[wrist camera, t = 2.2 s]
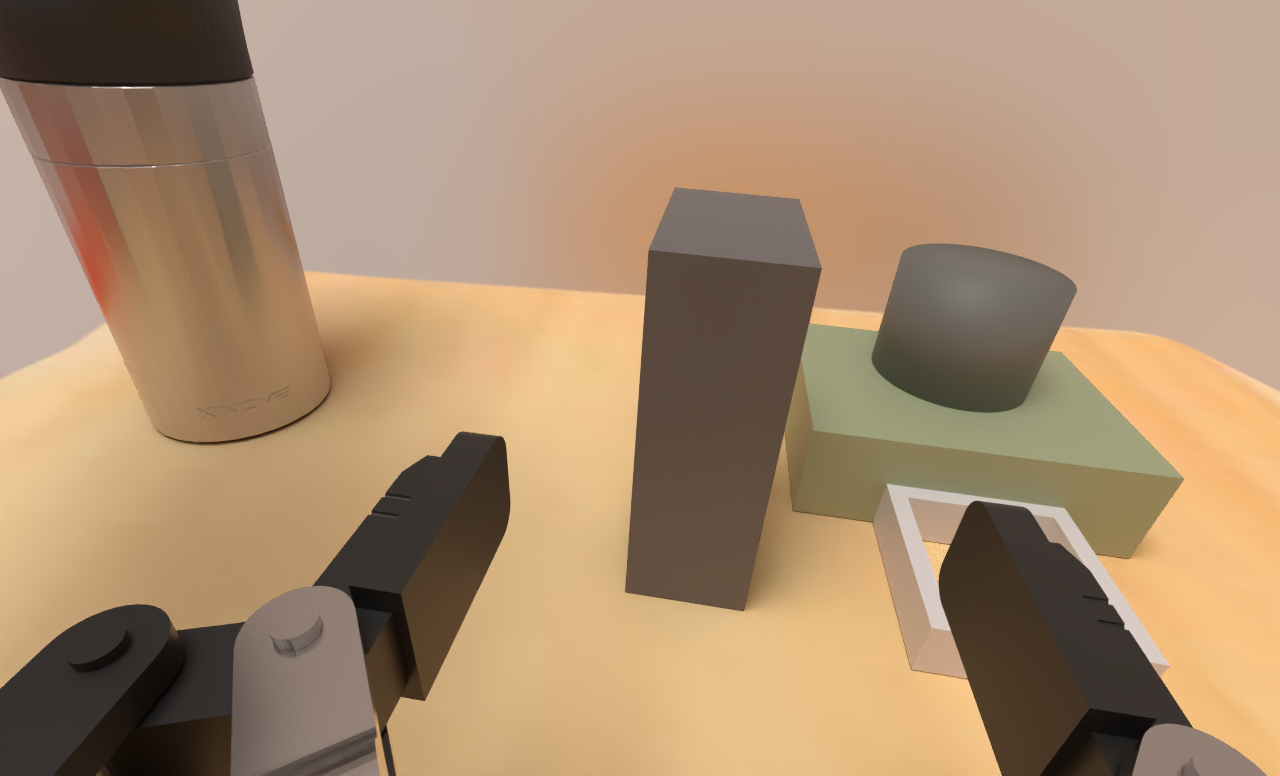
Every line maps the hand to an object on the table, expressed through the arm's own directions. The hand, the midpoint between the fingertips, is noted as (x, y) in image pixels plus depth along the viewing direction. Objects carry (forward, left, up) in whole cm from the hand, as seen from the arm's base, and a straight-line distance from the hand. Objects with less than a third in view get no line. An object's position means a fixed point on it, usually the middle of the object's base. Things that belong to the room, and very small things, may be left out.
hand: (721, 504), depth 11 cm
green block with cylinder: (-4, +21, -13) cm, 26 cm away
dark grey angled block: (-9, +9, -14) cm, 19 cm away
